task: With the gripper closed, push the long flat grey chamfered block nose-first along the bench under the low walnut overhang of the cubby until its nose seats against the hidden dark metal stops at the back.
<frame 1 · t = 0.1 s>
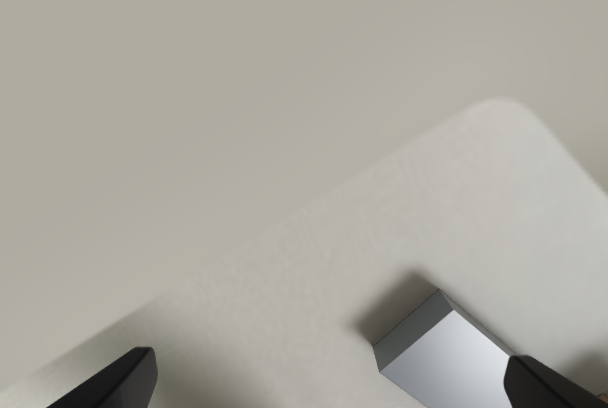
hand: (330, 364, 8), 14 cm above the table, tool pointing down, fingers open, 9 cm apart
grey chamfered block: (473, 373, 26), on the table
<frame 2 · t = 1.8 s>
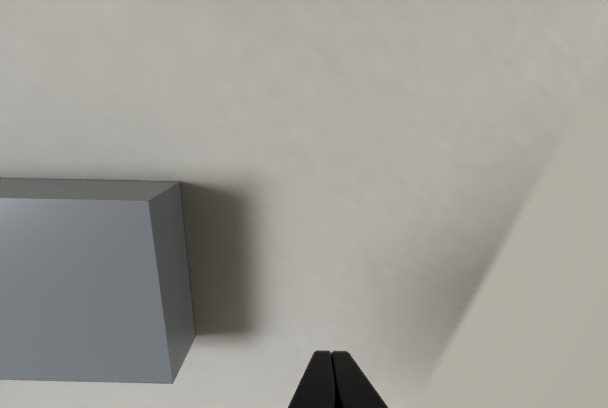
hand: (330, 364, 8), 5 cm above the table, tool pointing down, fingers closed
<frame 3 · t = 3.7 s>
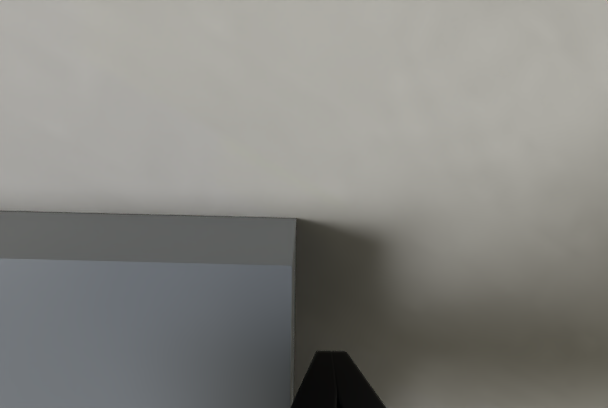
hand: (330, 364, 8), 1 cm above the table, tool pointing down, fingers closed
grey chamfered block: (17, 325, 9), on the table, touching gripper
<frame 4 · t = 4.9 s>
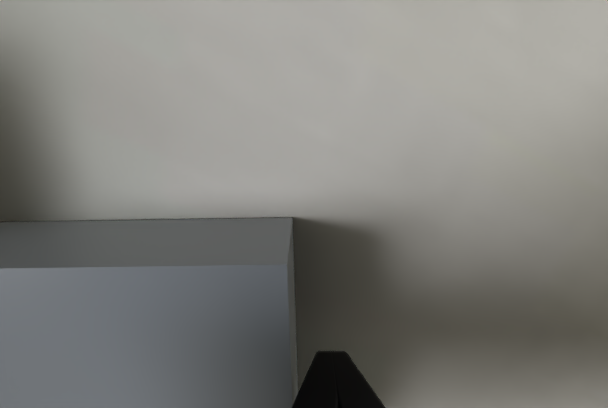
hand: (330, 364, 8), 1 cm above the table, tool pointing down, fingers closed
grey chamfered block: (23, 333, 10), on the table, touching gripper
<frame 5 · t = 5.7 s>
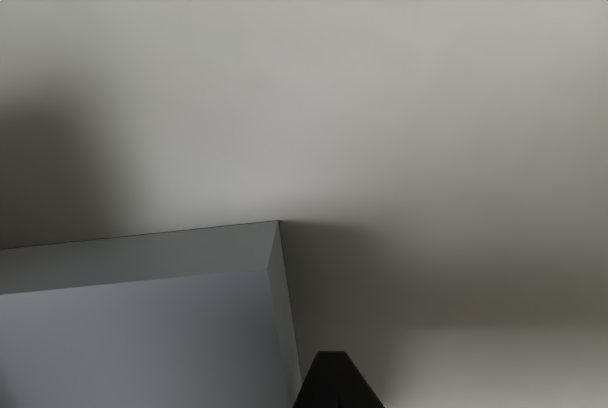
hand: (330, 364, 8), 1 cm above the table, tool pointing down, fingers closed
grey chamfered block: (30, 356, 10), on the table, touching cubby, gripper
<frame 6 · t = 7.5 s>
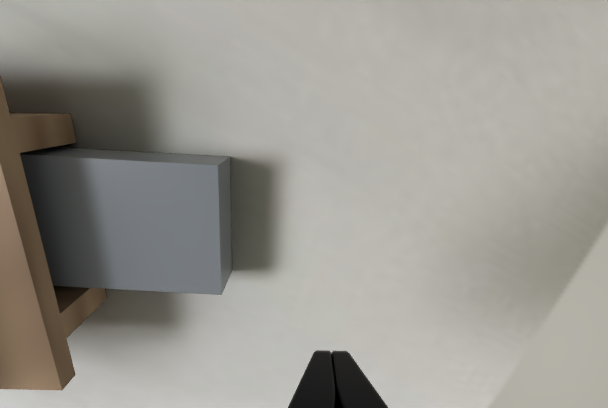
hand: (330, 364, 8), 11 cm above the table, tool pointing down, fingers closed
grey chamfered block: (91, 209, 19), on the table, touching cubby
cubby: (21, 213, 19), on the table
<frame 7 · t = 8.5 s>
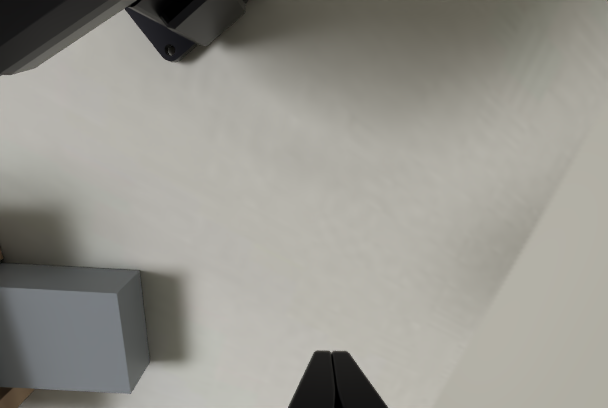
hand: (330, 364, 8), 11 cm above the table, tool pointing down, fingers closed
grey chamfered block: (21, 311, 21), on the table, touching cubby
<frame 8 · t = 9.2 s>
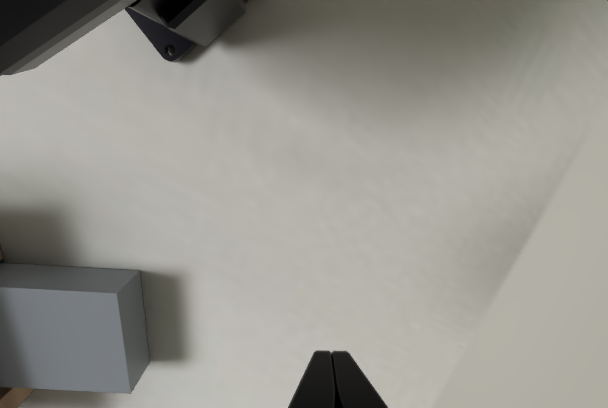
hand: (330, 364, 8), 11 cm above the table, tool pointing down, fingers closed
grey chamfered block: (20, 311, 21), on the table, touching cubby
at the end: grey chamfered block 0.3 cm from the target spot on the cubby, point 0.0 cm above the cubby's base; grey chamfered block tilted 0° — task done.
